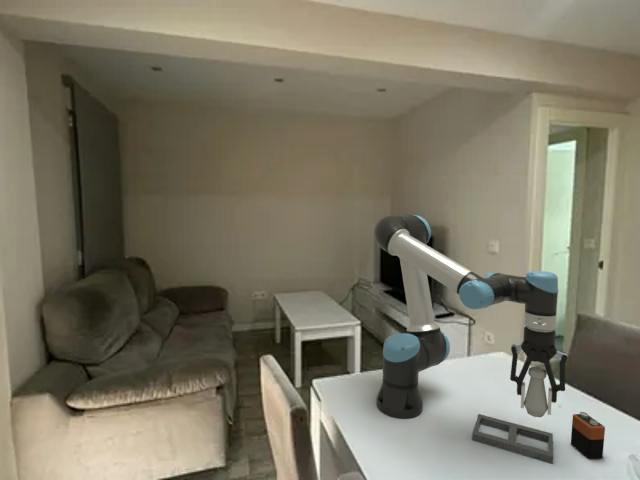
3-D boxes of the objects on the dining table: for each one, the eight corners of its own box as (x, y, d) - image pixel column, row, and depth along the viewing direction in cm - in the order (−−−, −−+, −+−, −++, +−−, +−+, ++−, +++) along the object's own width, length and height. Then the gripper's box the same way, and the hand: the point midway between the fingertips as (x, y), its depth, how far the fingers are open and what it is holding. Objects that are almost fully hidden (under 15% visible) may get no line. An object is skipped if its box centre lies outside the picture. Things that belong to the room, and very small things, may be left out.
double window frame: (471, 439, 111) (472, 433, 111) (478, 419, 121) (478, 413, 121) (552, 464, 101) (553, 457, 101) (552, 440, 111) (552, 433, 111)
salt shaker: (550, 420, 104) (553, 373, 103) (527, 418, 105) (529, 372, 104) (542, 409, 110) (545, 365, 109) (520, 407, 111) (522, 363, 110)
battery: (583, 443, 110) (586, 410, 109) (603, 459, 103) (606, 423, 102) (569, 444, 109) (572, 410, 108) (588, 459, 103) (591, 424, 102)
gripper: (500, 326, 107) (497, 406, 109) (582, 338, 97) (576, 425, 99) (503, 319, 113) (499, 395, 115) (579, 329, 104) (575, 412, 106)
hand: (535, 409), depth 107 cm, fingers closed on salt shaker, 6 cm apart
